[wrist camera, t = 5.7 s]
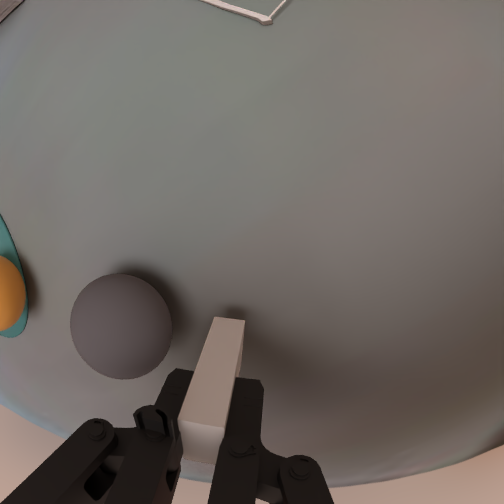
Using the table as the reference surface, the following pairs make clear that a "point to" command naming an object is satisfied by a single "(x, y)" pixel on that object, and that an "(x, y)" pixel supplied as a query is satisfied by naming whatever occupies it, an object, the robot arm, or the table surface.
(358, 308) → the table surface
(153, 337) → the dark grey ball
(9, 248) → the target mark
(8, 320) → the object ball
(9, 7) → the ink cartridge box
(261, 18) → the crossbow
